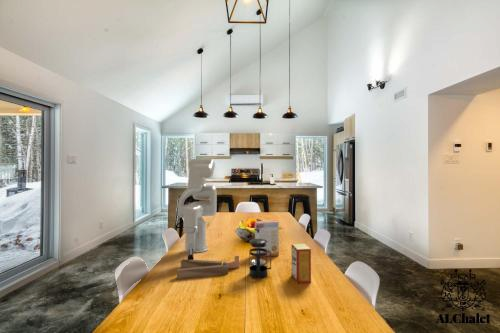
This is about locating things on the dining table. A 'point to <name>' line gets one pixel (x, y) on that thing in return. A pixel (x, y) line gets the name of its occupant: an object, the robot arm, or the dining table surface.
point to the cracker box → (269, 236)
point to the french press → (258, 258)
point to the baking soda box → (301, 263)
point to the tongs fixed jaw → (202, 271)
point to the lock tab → (234, 262)
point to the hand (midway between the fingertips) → (190, 262)
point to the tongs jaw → (198, 263)
